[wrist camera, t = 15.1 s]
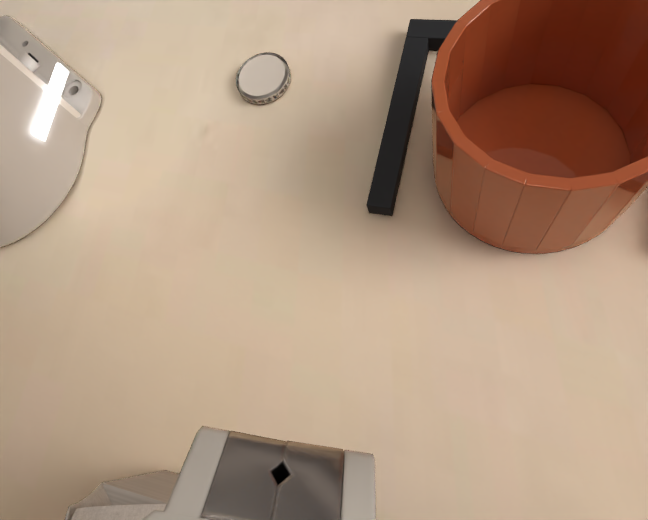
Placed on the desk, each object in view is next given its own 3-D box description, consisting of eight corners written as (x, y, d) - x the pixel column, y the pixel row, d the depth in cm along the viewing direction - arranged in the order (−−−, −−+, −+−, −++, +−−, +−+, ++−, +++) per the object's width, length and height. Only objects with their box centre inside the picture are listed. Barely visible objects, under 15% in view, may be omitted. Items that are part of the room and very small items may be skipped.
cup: (396, 167, 32) (382, 83, 24) (526, 54, 32) (555, -65, 24) (534, 294, 27) (574, 243, 19) (681, 161, 28) (778, 59, 20)
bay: (696, 260, 26) (708, 252, 25) (368, 212, 31) (366, 205, 30) (707, 42, 30) (718, 28, 28) (411, 31, 34) (410, 18, 33)
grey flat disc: (292, 97, 35) (290, 91, 34) (239, 109, 35) (236, 104, 35) (288, 52, 36) (286, 46, 36) (237, 64, 37) (234, 59, 36)
